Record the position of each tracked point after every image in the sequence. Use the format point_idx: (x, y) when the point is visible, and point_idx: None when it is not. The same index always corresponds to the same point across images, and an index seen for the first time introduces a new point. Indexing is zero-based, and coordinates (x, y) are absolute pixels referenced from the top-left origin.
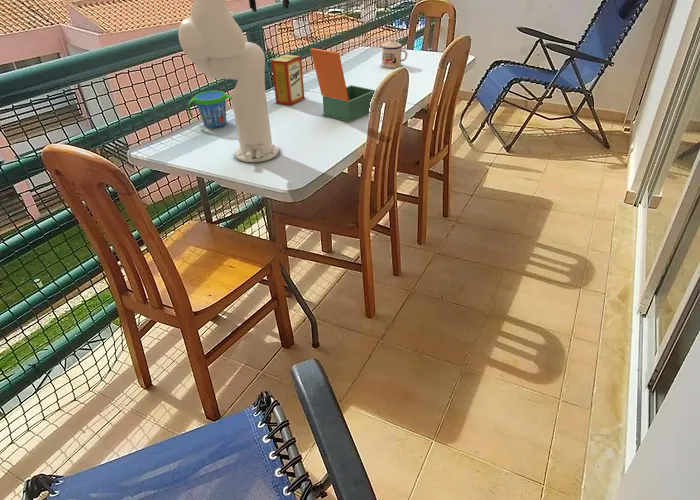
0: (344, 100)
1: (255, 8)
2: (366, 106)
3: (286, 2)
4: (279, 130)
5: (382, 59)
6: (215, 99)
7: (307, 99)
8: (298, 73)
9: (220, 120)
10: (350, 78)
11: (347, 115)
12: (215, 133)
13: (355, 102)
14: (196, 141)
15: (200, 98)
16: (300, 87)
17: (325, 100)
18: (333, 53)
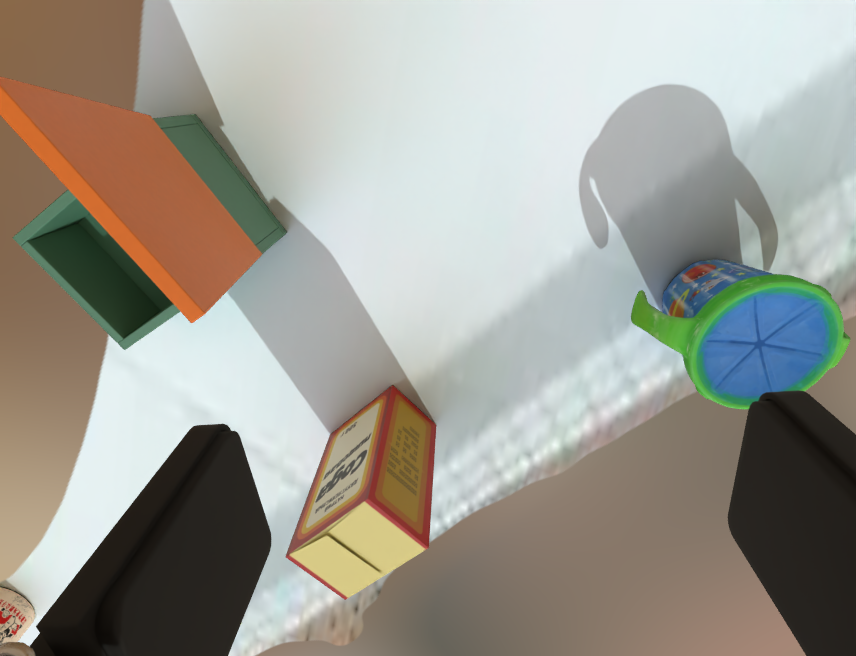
0: (163, 132)
1: (802, 415)
2: None
3: (175, 481)
4: (489, 131)
5: (17, 631)
6: (763, 282)
7: (321, 419)
8: (323, 489)
9: (703, 266)
10: None
11: (187, 121)
12: (734, 202)
13: None
14: (835, 140)
15: (810, 338)
16: (333, 453)
17: (255, 236)
18: (29, 114)
